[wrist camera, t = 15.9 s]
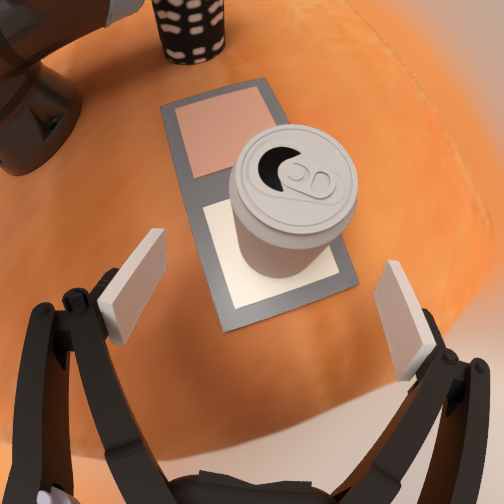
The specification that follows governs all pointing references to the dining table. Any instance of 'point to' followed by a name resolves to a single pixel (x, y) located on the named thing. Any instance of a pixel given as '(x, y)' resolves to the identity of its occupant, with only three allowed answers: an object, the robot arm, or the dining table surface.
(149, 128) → the dining table surface
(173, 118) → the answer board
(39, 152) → the robot arm
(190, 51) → the spotted tube
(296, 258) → the beverage can
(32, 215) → the dining table surface
